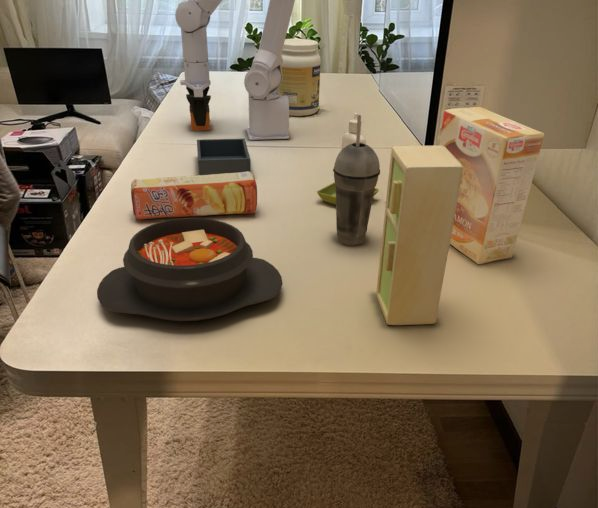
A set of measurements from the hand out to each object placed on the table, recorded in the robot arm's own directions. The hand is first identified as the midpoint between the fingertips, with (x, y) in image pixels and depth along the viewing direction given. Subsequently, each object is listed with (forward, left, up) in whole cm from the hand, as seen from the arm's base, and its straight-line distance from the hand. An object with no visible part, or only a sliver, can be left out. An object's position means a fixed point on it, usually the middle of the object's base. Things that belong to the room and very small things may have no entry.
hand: (200, 121), depth 146 cm
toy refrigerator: (-25, +87, -2) cm, 91 cm away
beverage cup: (-23, +65, -2) cm, 69 cm away
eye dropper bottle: (-30, +35, -2) cm, 46 cm away
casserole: (+3, +80, -2) cm, 80 cm away
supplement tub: (-26, -14, -2) cm, 30 cm away
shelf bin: (-4, +29, -2) cm, 29 cm away
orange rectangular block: (0, 0, -2) cm, 2 cm away
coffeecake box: (-42, +68, -2) cm, 80 cm away
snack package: (+2, +52, -2) cm, 52 cm away
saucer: (-26, +49, -2) cm, 55 cm away
